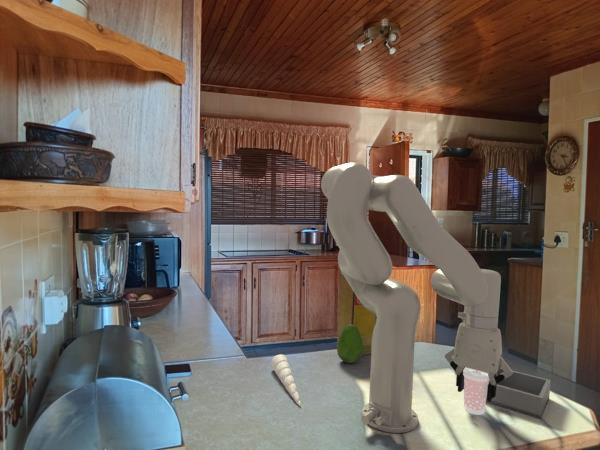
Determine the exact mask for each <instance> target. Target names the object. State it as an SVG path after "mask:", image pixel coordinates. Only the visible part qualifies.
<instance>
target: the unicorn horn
mask: <svg viewBox="0 0 600 450" xmlns="http://www.w3.org/2000/svg"><path fill="white" fill-rule="evenodd" d="M287 358H288V357H286V355H284V354H277V355H275V356H273V357H272V359H271V363H270V364H271V367H272V369H273V370H274V372H275V374H276V375H277V378H278V379H279V380H280V382H281V383H282V385H283V387H285V390H286V391H287V392H288V394H289V395H290V397H291V398H292V399H293V401H294V402H295V404H297V405H298V406H299V407H300V408H301V407H302V403H301V398H300V395H299V392H298V387H297V385H296V382H295V379H294V377H293V372H292V370H291V367H290V364H289V360H288V359H287Z"/></svg>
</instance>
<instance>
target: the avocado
mask: <svg viewBox="0 0 600 450" xmlns="http://www.w3.org/2000/svg"><path fill="white" fill-rule="evenodd" d="M336 344H337V345H336V352H337V355H338V357H339V358H340V360H341V361H342V362H343V363H346V364H353V363H355V362H358V360H359V359H360V357H361V356H362V355H361V353H362V350H363V344H362V339H361V336H360V333H359V330H358V328H357V327H356V326H354V325H352V324H348V325H346V326H345V327H344V329H343V331H342V333H341V334H340V337H339V339H338V342H337V341H336Z"/></svg>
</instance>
